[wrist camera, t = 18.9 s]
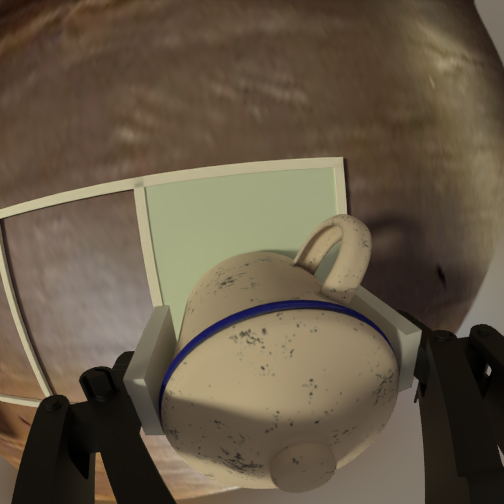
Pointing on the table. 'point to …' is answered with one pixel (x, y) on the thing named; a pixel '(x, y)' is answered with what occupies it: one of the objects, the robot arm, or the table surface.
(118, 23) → the table surface
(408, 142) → the table surface
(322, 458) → the teacup with lid
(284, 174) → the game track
